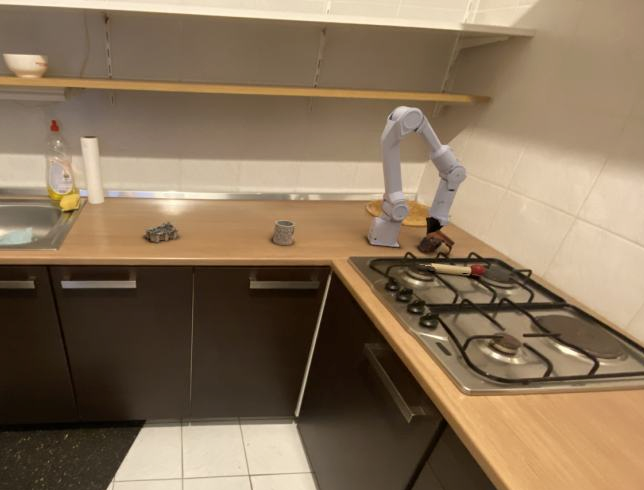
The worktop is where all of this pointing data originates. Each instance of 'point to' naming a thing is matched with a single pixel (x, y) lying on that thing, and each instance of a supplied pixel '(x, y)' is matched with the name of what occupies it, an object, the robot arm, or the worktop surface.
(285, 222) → the mug
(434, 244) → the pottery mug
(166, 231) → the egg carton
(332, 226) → the worktop surface
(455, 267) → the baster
